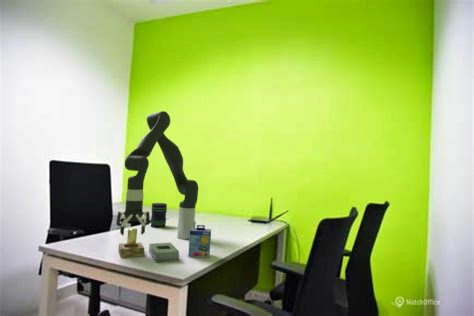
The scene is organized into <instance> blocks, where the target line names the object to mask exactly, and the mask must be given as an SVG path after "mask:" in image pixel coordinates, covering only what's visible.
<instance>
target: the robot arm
mask: <svg viewBox="0 0 474 316" xmlns="http://www.w3.org/2000/svg"><path fill="white" fill-rule="evenodd" d="M146 124H147V126H148V128H149V130H150V131H148V132H147V133H145V134H144V136H143V137H142V138H141V139H140V141H139V142H138V144H137V145H136V148H134V149H133V150H132V151H131V152H130V153H129V154H127V156H126V158H125V160H124V167H125V169H126V170H128V171H133V172H137V173H136V174H135V175H132V176H129V177H128V179H127V186H126V187H127V188H126V192H125V193H126V194H125V208H124V210H125V211H124V212H123V211H118V212H117V215H116V226H118V227H120V229H119V233H120V235H121V236H124V235H125V226H126V224H127V223H128V222H139V223H140V224H141V228H140V229H141V230H140V234H141V235H144V233H146V227H147V226H149V225H150V212H149V211H148V210H147V211H143V206H144V204H143V203H144V181H145V177H146V175H147V171H148V169H149V166H150V165H149V164H150V163H149V162H150V161H149V159H148V158H149V157H150V156H151V153H152V151H153V149H154V148H155V146H156V144H158V146H159V149H160V150H161V153H162V154H163V157H164V160H165V162H166V164H167V166H168V168H169V170H170V172H171V174H172V177H173V179H174V183H175V186H176V189H177V191H178V193H180V195H183V196H184V198H183V200H182V201H180V202H179V205H178V206H179V208H178V219H177V220H178V224H177V238H178V239H181V240H189V237H190V229H191V228H196V225H197V224H196V221H195V217H196V205H197V202H198V197H199V184H198V182H197V181H196V180H194V179H188V178H187V177H186V176H187V175H186V174H185V172H184V156H183V155H182V152H181V150H180V148H179V147H178V145H177V144H176V143H175V142H173V141H172V140H170V139H169V138H168V137H167V136H166V134H165V132H166V131H167V130H168V128H169V126H170V125H171V117H170V115H169V113H168V112H167V111H164V110H162V111H157V112H153V113H150V114H148V115H147V116H146ZM143 215H144V217H145V221H144V220H143V219H142V217H143ZM123 216H124V217H125V218H124V219H123V220H122V222H121V218H122V217H123Z"/></svg>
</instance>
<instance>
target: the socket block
mask: <svg viewBox="0 0 474 316" xmlns="http://www.w3.org/2000/svg"><path fill="white" fill-rule="evenodd" d="M118 255H119V257H120V258H130V257H144V255H145V246H144V245H143V243H142V242H136V247H130V248H127V242H126V243H125V242H124V243H119V244H118Z"/></svg>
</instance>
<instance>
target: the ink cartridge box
mask: <svg viewBox="0 0 474 316" xmlns="http://www.w3.org/2000/svg"><path fill="white" fill-rule="evenodd" d="M196 225H197V226H196V227H195V228H191V229H190V237H189V239H188V240H189V241H188V254H187V255H188V257H189V258H205V259H206V258H208V259H209V258H210V256H211V244H212V243H211V242H212V229H211V228H206V227H205V226H206V225H204V224H201V225H200V224H196Z"/></svg>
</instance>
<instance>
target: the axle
mask: <svg viewBox="0 0 474 316" xmlns="http://www.w3.org/2000/svg"><path fill="white" fill-rule="evenodd" d="M137 236H138V228H128V229H127V239H126V243H127V248H130V247H136V243H137V238H138V237H137Z"/></svg>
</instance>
